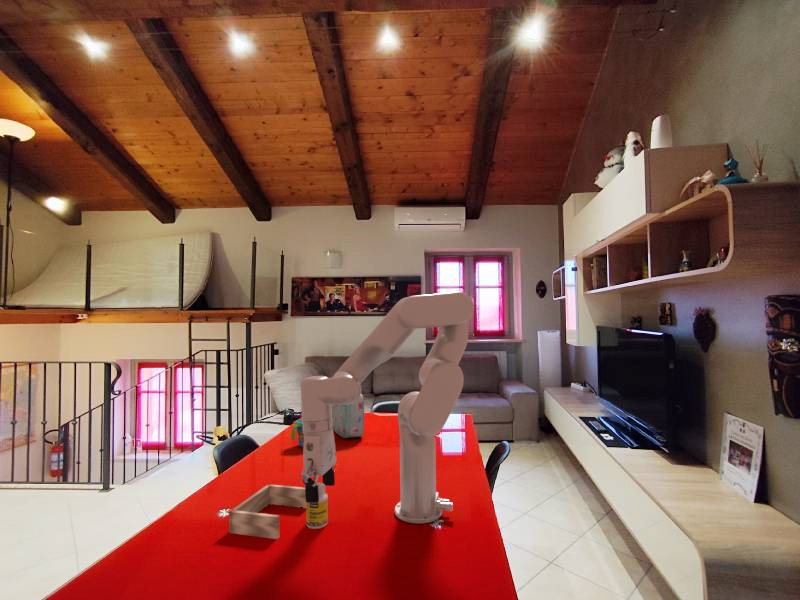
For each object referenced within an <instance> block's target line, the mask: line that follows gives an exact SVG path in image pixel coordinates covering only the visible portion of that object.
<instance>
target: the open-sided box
mask: <svg viewBox="0 0 800 600" xmlns="http://www.w3.org/2000/svg"><path fill="white" fill-rule="evenodd" d="M268 504H269V505H273V504H274V506H282V505H284V507H291V506H292V507H293V508H294V507H295V508H300V507H303V509H306V506H307V502H306V494H305V487H300V486H291V485H280V484H279V485H278V484H270V483H269V484H266V485H265V486H263V487H262V488H261V489H259V490H258V491H256V492H255V493H254V494H252V495H251V496H249V497H248V498H247V499H245V500H244V501H242V502H240V503H239V504H238V505H237V506H235V507H234V508H233V509H231V510H229V513H228V519H229V520H228V523H229V524H228V533H229V534H234V535H235V534H236V535H242V536H251V537H257V538H258V537H259V538H266V539H273V540H278V539H279V538H280V515H279V514H269V513H262V512H261V511H262V510H264V509H265V508H266V507H267V506H269V505H268ZM264 507H265V508H264ZM263 508H264V509H263ZM259 511H260V512H261V513H260V512H259ZM258 512H259V513H258Z"/></svg>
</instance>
